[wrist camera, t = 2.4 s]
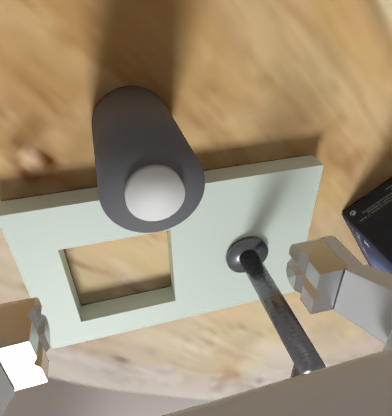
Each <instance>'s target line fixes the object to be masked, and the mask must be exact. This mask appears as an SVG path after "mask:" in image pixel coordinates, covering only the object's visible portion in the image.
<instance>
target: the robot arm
mask: <svg viewBox="0 0 392 416" xmlns="http://www.w3.org/2000/svg"><path fill="white" fill-rule="evenodd" d="M289 255H290V256H291V257H292V258H291V259H290V260H289V261H288V263H287V268H286V273H287V278H288V281H289V283H290V285H291V286H292V288H293V289H294V290H295V291H297V292H299V293H301V298H300V300H301V301H302V303H303V304H304V306H305V307H306V308H307V310H308V311H309V313H310V314H314V313H319V312H323V311H328V310H332V309H334V311H335V312H337V313H338V314H340V315H341V316H343V317H344V318H346V319H348V320H349V321H351V322H352V323H354V324H355V325H357V326H358V327H360V328H362V329H363V330H365V331H366V332H368V333H369V334H371V335H372V336H374V337H376V338H377V339H379V340H380V341H382V342H383V343H385V345H384V348H383V350H382V351H381V352H377V353H374V354H370V355H367V356H364V357H360V358H357V359H353V360H350V361H347V362H343V363H340V364H336V365H333V366H330V367H326V368H323V369H319V370H316V371H313V372H309V373H306V374H302V375H299V376H296V377H292V378H289V379H285V380H282V381H279V382H275V383H272V384H269V385H265V386H262V387H258V388H255V389H252V390H248V391H245V392H241V393H238V394H235V395H231V396H228V397H224V398H221V399H218V400H214V401H211V402H207V403H204V404H201V405H198V406H194V407H190V408H187V409H184V410H180V411H177V412H174V413H170V414H167V415H163V416H392V275H391V274H389V273H386V272H384V271H382V270H379V269H377V268H374V267H372V266H369V265H362V264H361V263H360V262H359V261H358V260H357V259H356V257H355V256H354V255H353V254H352V253H351V252H350V251H349V250H348V249H347V248H346V247H345V246H344V245H343V244H342V243H341V242H340V241H339V240H338V239H337V238H336V237H334V236H327V237H323V238H319V239H314V240H309V241H305V242H300V243H296V244H292V245H291V246H290V249H289ZM41 310H42V305H41V303H40V300H39V298H37V297H35V298H30V299H24V300H19V301H13V302H8V303H3V304H0V416H1V415H2V413H3V412H4V410H5V408H6V407H7V405H8V404H9V402H10V401H11V399H12V397H13V395H14V394H15V391H16V390H19V389H23V388H26V387H30V386H33V385H37V384H41V383H44V382H47V378H48V366H49V360H48V357H47V355H46V352H47V350H48V349H49V348H50V329H49V324H48V320H47V318H46V316H45V315H43V314H41Z"/></svg>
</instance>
